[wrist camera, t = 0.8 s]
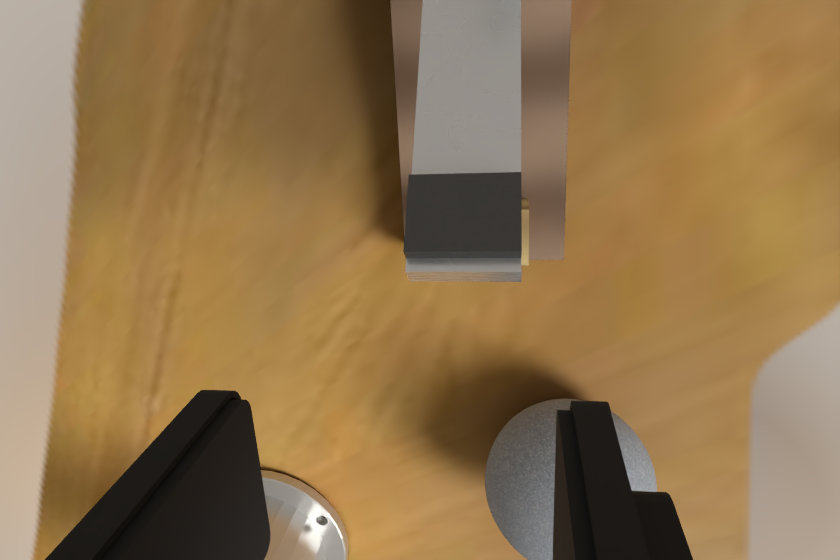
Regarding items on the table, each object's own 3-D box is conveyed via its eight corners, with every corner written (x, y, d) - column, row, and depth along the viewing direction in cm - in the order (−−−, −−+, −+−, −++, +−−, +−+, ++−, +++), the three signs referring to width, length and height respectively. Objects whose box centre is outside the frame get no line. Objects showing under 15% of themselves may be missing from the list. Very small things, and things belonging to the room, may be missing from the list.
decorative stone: (500, 501, 45) (496, 617, 36) (477, 378, 42) (466, 471, 33) (645, 491, 44) (681, 612, 34) (632, 361, 40) (667, 455, 31)
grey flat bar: (529, 284, 23) (530, 265, 21) (402, 284, 23) (393, 265, 22) (527, -78, 29) (527, -117, 27) (425, -70, 29) (420, -108, 28)
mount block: (560, 244, 38) (567, 273, 33) (413, 245, 40) (398, 273, 35) (570, -118, 32) (580, -148, 27) (394, -102, 33) (373, -129, 28)
